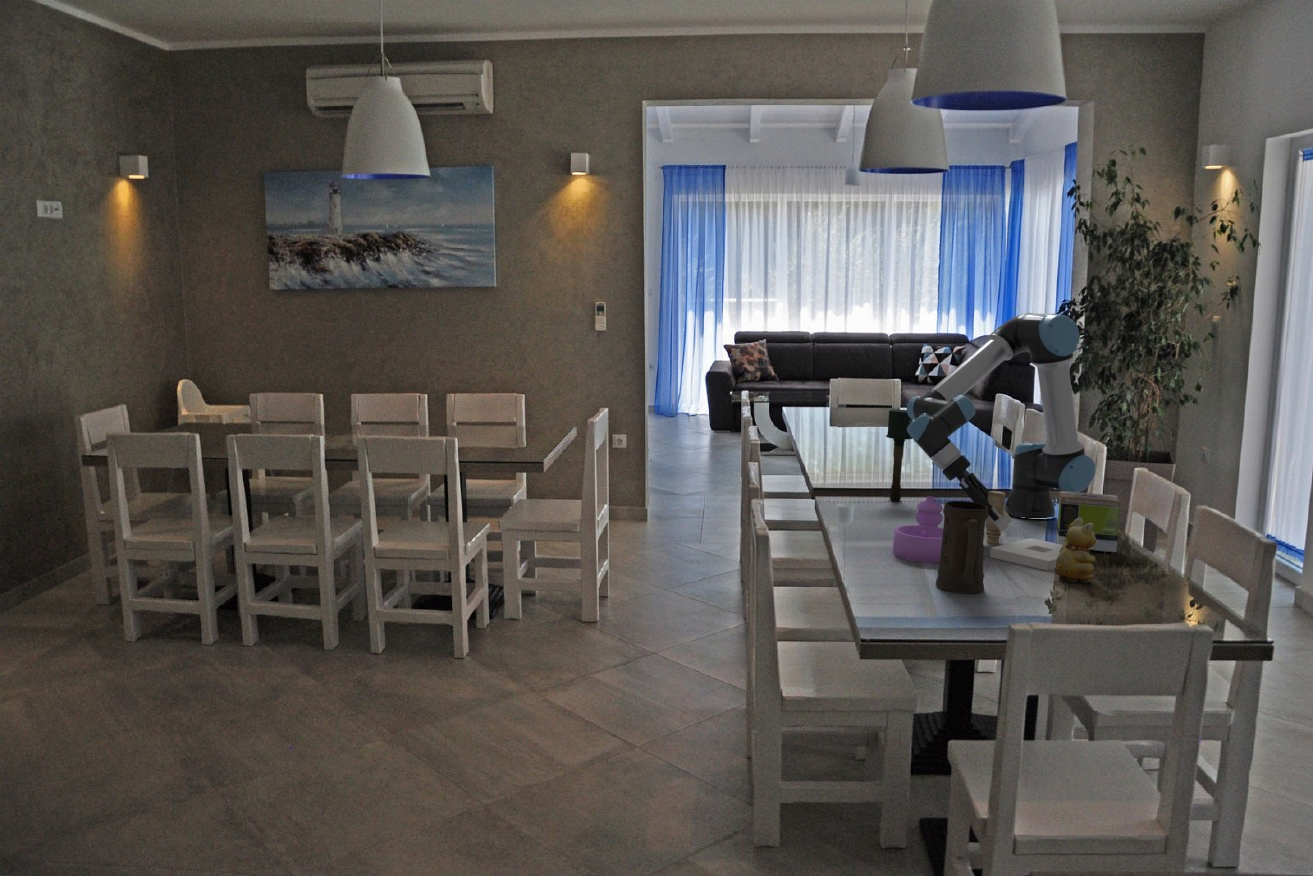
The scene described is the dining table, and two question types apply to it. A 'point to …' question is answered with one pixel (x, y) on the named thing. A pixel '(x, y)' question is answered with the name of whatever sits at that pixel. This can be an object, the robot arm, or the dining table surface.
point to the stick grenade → (898, 446)
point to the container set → (921, 534)
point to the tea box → (1090, 517)
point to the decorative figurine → (1077, 553)
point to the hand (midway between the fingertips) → (1007, 525)
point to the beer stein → (962, 547)
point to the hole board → (1029, 553)
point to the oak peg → (997, 502)
